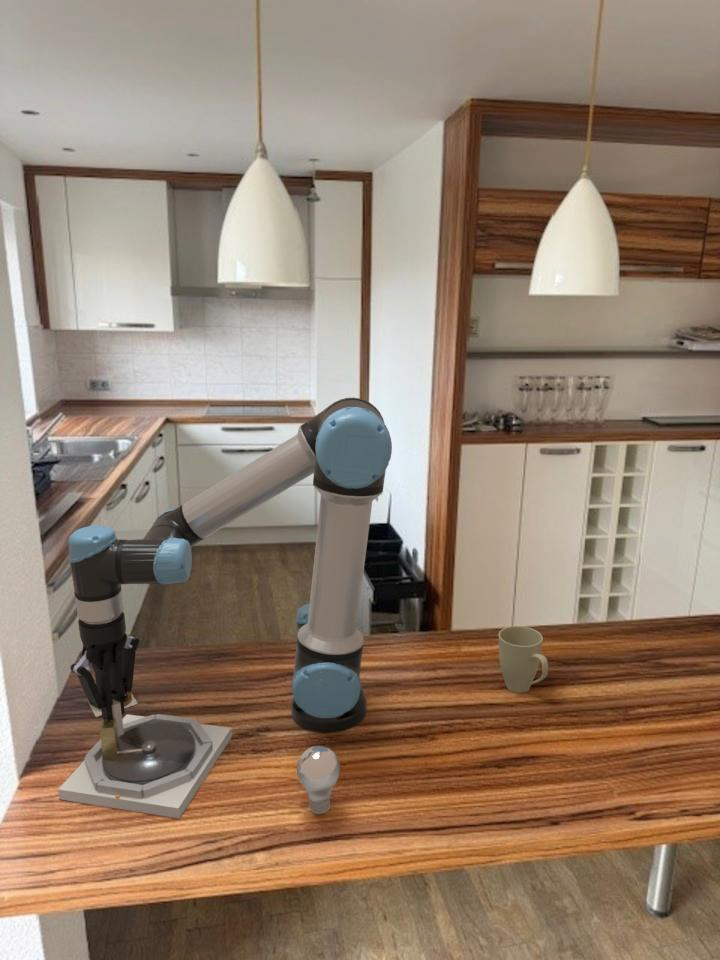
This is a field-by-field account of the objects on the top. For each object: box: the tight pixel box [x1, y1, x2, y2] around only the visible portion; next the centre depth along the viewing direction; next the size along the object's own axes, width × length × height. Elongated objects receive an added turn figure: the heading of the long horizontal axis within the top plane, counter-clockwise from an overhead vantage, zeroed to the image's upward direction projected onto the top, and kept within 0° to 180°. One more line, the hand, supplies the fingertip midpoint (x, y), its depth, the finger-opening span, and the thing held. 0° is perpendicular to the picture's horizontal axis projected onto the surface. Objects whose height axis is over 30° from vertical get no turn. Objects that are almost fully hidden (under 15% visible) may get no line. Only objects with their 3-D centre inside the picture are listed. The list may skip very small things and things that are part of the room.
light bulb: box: [296, 744, 341, 816], centre depth 115 cm, size 7×7×12 cm
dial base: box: [57, 713, 233, 819], centre depth 128 cm, size 22×22×4 cm
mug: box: [498, 625, 549, 694], centre depth 150 cm, size 11×10×12 cm
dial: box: [99, 719, 195, 785], centre depth 127 cm, size 16×16×7 cm
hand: (115, 732), depth 129 cm, fingers closed
